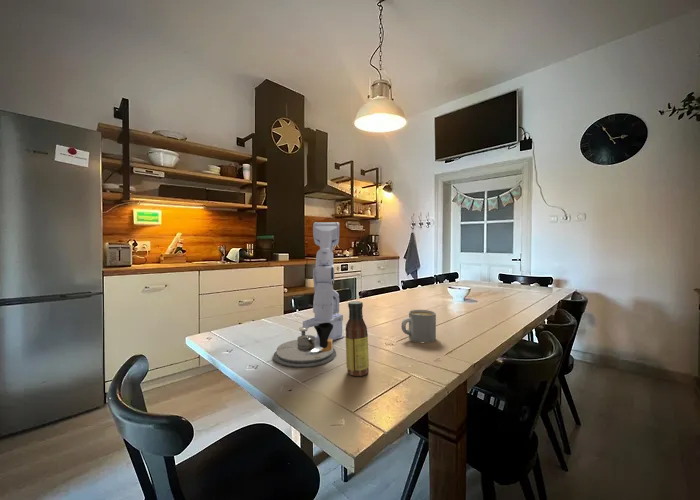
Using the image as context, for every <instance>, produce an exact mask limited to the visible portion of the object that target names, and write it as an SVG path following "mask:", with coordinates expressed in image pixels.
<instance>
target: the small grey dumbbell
mask: <svg viewBox="0 0 700 500" xmlns="http://www.w3.org/2000/svg"><path fill="white" fill-rule="evenodd" d="M308 329H309V328H307V329H306V328H303V326H302V327H299V329H298V330H299V331H300V332H301V333H300V336H303V335H306V332H307V331H308Z"/></svg>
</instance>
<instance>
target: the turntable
mask: <svg viewBox="0 0 700 500" xmlns="http://www.w3.org/2000/svg"><path fill="white" fill-rule="evenodd" d="M333 341H334V340H333V339H328V340H327V347H326V348H322V347H320V340H318V339H315V348H314V349H312V350H308V351H303V350H299V349H298V339H294V340H290V341H286V342H284V343H281V344H280V345H278V346H277V348H276V351H277V357H278V358H279V359H281V360H283V361H286V362H291V363H311V362H317V361H321V360H324V359H326V358H328V357H330V356H331V355H332V354H333V348H334V346H333Z"/></svg>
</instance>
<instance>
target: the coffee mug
mask: <svg viewBox="0 0 700 500" xmlns="http://www.w3.org/2000/svg"><path fill="white" fill-rule="evenodd" d="M407 324H408V329H406V328H407V327H406V326H407ZM401 331H402V332H403V333H404V334H405V335H408V339H409V340H410V341H411V342H415V341H416V342H415V343H420V342H431V343H434V342H436V340H437V332H436V331H437V312H435V311H432V310H429V309H413V310H409V311H408V317H406V318H404V319H403V320H402V322H401ZM433 341H434V342H433Z"/></svg>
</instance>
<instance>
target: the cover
mask: <svg viewBox="0 0 700 500" xmlns="http://www.w3.org/2000/svg"><path fill="white" fill-rule="evenodd" d="M314 336H315V335H309V334H308V335H307V334H305V335H303V336H301V335H300V336H298V337H297V339H296V340H298V349H299V350H303V351H308V350H312V349H314V348H315V337H314Z"/></svg>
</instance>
